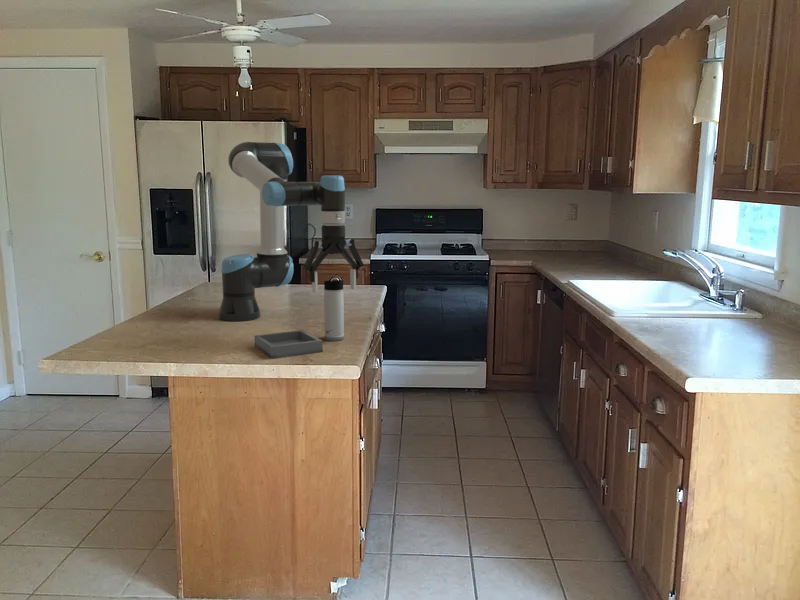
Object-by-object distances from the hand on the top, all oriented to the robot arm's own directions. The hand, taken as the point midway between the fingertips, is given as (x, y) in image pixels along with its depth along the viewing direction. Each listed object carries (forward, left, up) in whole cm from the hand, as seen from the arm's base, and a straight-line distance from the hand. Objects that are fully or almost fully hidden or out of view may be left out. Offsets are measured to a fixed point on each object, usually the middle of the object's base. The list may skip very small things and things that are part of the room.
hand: (334, 290), depth 212 cm
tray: (+5, -18, -16) cm, 25 cm away
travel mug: (0, 0, -16) cm, 16 cm away
